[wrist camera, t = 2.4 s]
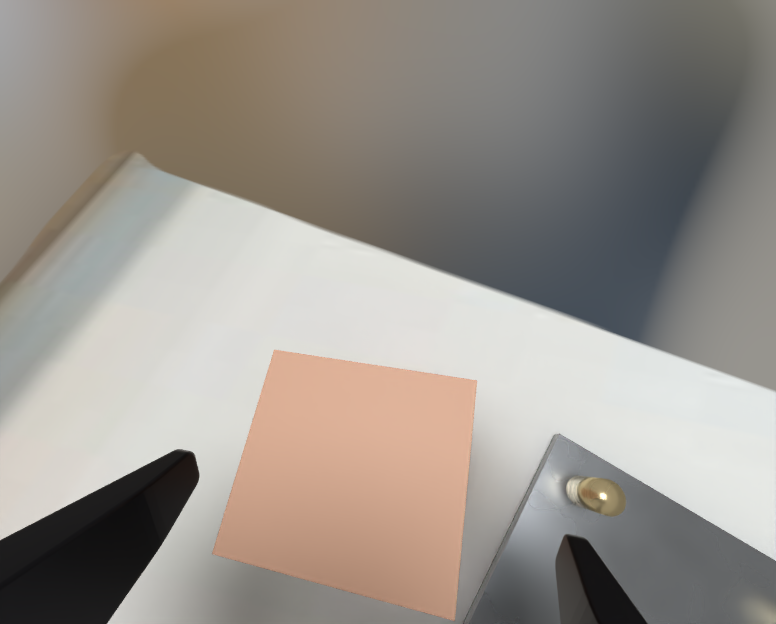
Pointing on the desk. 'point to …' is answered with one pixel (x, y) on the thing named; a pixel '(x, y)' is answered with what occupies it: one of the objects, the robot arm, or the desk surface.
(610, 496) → the standoff chassis
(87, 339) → the desk surface
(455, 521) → the terracotta block
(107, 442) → the desk surface
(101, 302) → the desk surface
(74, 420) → the desk surface
